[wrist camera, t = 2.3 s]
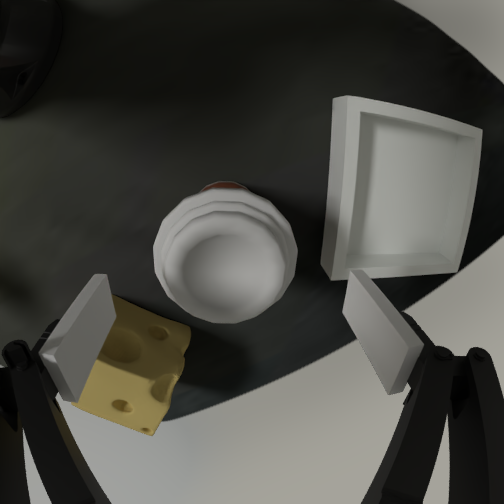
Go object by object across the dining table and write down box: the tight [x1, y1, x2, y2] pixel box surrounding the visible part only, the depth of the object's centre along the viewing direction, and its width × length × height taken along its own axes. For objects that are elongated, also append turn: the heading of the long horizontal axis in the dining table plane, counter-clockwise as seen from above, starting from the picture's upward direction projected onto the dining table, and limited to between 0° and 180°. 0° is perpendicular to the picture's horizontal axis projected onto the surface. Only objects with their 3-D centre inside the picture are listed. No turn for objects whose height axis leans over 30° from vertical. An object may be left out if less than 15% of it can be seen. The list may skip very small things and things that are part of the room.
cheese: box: [71, 295, 191, 436], centre depth 28 cm, size 10×11×10 cm
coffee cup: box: [153, 181, 298, 323], centre depth 22 cm, size 9×9×12 cm
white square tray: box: [320, 95, 482, 280], centre depth 27 cm, size 17×17×4 cm
